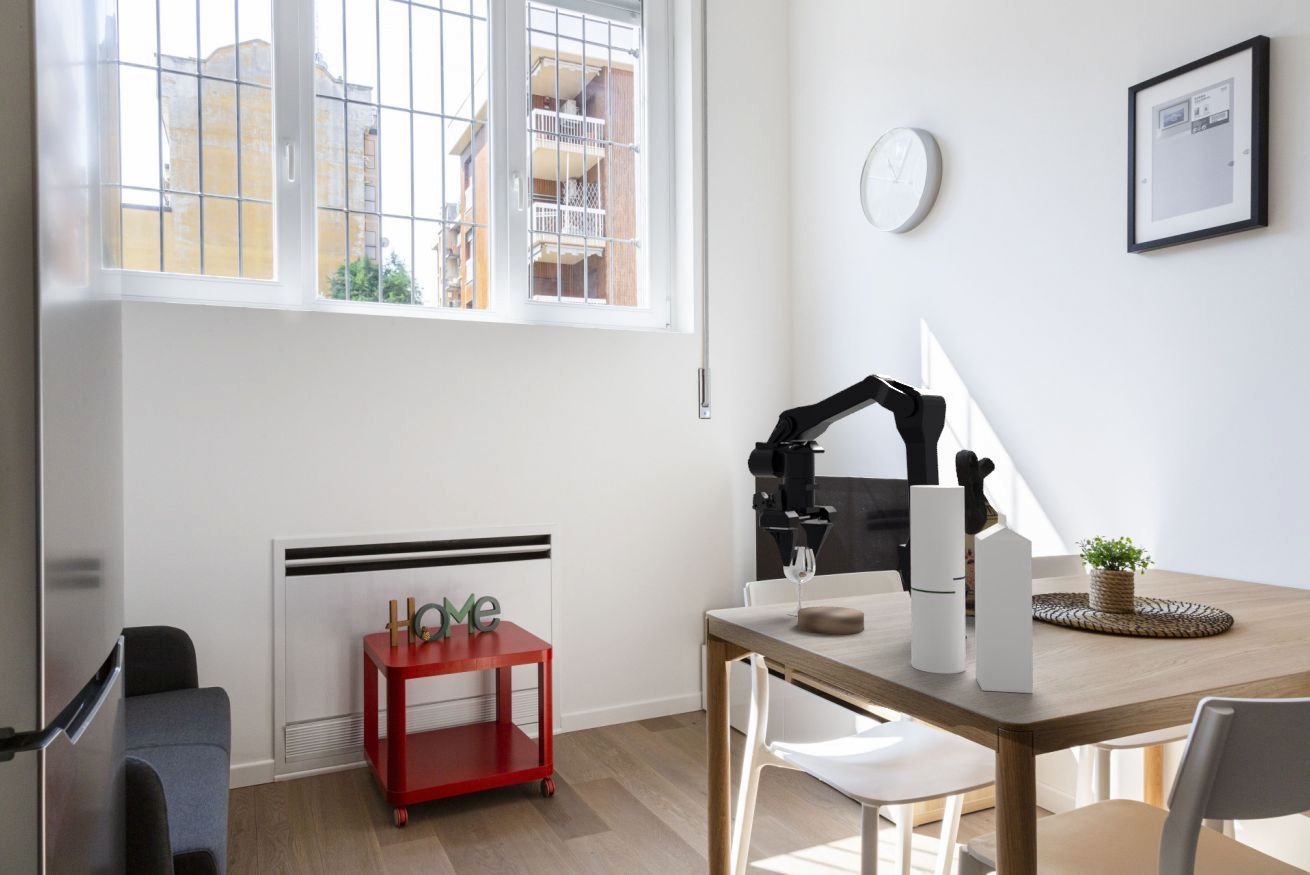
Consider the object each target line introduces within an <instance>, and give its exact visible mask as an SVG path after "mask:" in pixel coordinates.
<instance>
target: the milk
mask: <svg viewBox="0 0 1310 875" xmlns="http://www.w3.org/2000/svg"><path fill="white" fill-rule="evenodd" d="M997 513H998V523H997V524H995V525H993V526H991V527H989V528H987V529H986V530H984V531H982V532H980V533H978V534H976V535H975V615H974V616H975V617H974V622H975V625H974V626H975V628H974V629H975V634H974V635H975V638H974V639H975V640H974V641H975V648H974V649H975V651H974V652H975V679H976V681H977V683H978V685H979V688H980V689H981V691H985V692H986V691H987V692H1002V693H1019V694H1020V693H1021V694H1033V693H1034V683H1033V682H1034V673H1033V672H1034V670H1033V668H1034V667H1033V666H1034V665H1033V663H1034V662H1033V657H1034V656H1033V570H1032V569H1033V567H1032V566H1033V561H1032V559H1033V558H1032V557H1033V553H1032V551H1033V550H1032V549H1033V547H1032V543H1033V542H1032V540H1030V539H1029V538H1027V537H1025V536H1023V535H1022V534H1019V533H1018V532H1016V531H1015V530H1013V529H1011V528H1009V527H1008V526H1006V525H1007V514H1005V513H1003V512H1001V511H997Z"/></svg>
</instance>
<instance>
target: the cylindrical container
mask: <svg viewBox="0 0 1310 875" xmlns="http://www.w3.org/2000/svg"><path fill="white" fill-rule="evenodd" d="M910 520H911V597H910V618H911V621H910V622H911V623H910V626H911V627H910V628H911V629H910V631H911V632H910V633H911V634H910V636H911V637H910V641H911V643H910V644H911V645H910V647H911V648H910V649H911V652H910V653H911V658H910V659H911V667H912V668H914V669H916V670H919V671H922V672H925V673H931V674H943V675H945V674H947V675H948V674H959V673H962V672H965V671H966V668H967V666H966V665H967V664H966V663H967V658H966V654H967V653H966V648H967V647H966V644H967V643H966V640H967V639H966V637H965V635H966V614H965V577H964V576H965V509H964V486H959V485H949V484H948V485H943V484H939V485H915V486H910ZM910 520H909V521H910Z"/></svg>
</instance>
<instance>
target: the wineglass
mask: <svg viewBox="0 0 1310 875" xmlns="http://www.w3.org/2000/svg"><path fill="white" fill-rule="evenodd" d="M783 573H784V575H785V577H786V579H788V580H789V581H791V582H793V583H795V584H797V586H796V593H797V598H798V599H797V600H798V601H797V604H798V605H797V608H796V609H795V610H791V611H787V615H789V616H793V617H794V616H795V617H798V610H800V609H802V600H801V598H802V592H803V586H802V584H804V583H807V582H808V581H810V580H812V579H813V578H814V575H815V574H816V560H815V559H814V554H813V550H812V548H810V547H807V546H795V549H794V553H793V558H792V561H791V564H790V566H789V567H785V566H784V565H783Z"/></svg>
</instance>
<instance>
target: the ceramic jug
mask: <svg viewBox="0 0 1310 875" xmlns="http://www.w3.org/2000/svg"><path fill="white" fill-rule="evenodd" d="M954 462H955V472H956V479H957V484H958V485H957V486H964V509H965V576H964V577H965V582H966V583H967V584H968V585H969V587H970V591H969V594H968V597H967V599H965V615H967V616H975V535H976V534H978V533H980V532H982V531H984V530H986V529H987V528H989V527H991V526H993V525H995V524H997V523H998V511H997V510H996V509H995V508H994V507H993V506H992V505H991V503H990V502H989V499H988V498H987V496H986V495H985V493H984V485H985V484H984V482H985V479H986V478H987V477H988V476H989V475H991V474H992V472H993V471H995V470H996V469H995V468H996V465H995V463H994V461H993V460H992V459H991V458H989V457H983V458H980V459H979V458H978V456H977V453H975V451H973V450H968V449H961V450H960V451H957V453H955V460H954ZM1006 526H1007V524H1006ZM1007 527H1008V526H1007Z"/></svg>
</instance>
